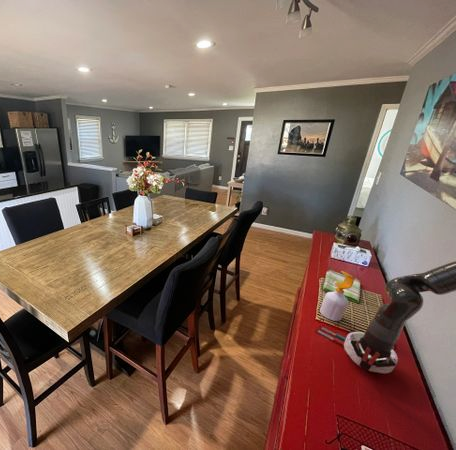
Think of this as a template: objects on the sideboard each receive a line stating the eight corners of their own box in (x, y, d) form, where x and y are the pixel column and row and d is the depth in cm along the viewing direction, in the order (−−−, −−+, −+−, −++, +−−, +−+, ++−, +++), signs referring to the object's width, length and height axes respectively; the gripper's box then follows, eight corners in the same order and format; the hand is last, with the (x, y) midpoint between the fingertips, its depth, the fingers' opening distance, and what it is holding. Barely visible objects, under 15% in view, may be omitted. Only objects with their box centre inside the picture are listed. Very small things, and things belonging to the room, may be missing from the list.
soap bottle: (315, 308, 122) (330, 267, 112) (331, 307, 123) (347, 267, 114) (328, 322, 114) (346, 279, 104) (346, 320, 115) (364, 278, 105)
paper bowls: (334, 341, 103) (340, 327, 100) (374, 349, 100) (382, 334, 97) (352, 374, 90) (360, 359, 87) (400, 384, 87) (409, 368, 84)
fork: (346, 340, 104) (347, 338, 104) (345, 342, 103) (346, 340, 103) (322, 327, 111) (322, 325, 110) (321, 329, 110) (321, 327, 109)
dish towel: (359, 284, 143) (362, 279, 142) (359, 304, 126) (362, 298, 125) (326, 273, 153) (327, 268, 152) (321, 290, 136) (323, 285, 135)
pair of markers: (344, 344, 102) (345, 342, 102) (344, 346, 101) (344, 345, 101) (318, 330, 109) (319, 328, 108) (317, 332, 108) (317, 330, 107)
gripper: (410, 340, 79) (388, 375, 86) (360, 316, 88) (344, 350, 95) (407, 352, 75) (385, 388, 81) (355, 326, 84) (339, 361, 90)
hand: (363, 368), depth 88 cm, fingers closed
